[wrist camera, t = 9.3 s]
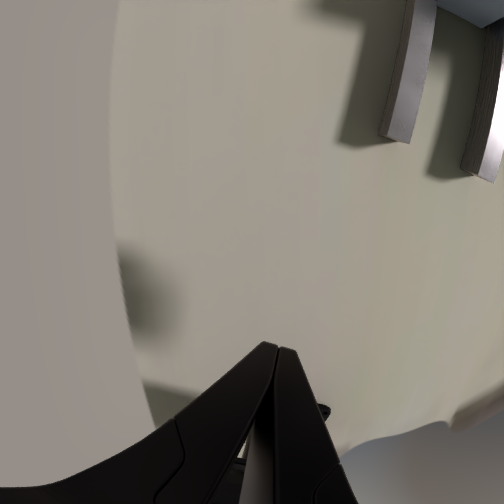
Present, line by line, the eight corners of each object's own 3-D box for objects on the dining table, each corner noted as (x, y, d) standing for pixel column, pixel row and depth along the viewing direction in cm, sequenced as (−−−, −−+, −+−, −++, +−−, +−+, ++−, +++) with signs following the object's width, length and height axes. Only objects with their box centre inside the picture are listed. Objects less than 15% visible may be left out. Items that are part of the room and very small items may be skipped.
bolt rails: (474, 175, 15) (493, 183, 12) (378, 134, 15) (387, 135, 13) (501, 14, 10) (519, 5, 7) (410, -32, 10) (420, -49, 8)
